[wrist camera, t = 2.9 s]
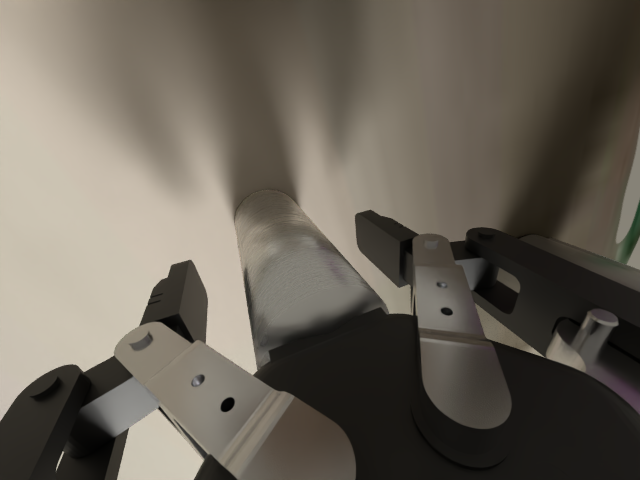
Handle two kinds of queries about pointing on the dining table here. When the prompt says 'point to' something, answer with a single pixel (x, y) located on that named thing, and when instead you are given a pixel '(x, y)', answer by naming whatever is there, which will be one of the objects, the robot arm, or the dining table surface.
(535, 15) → the dining table surface
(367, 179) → the dining table surface
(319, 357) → the robot arm
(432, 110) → the dining table surface
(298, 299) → the peg
